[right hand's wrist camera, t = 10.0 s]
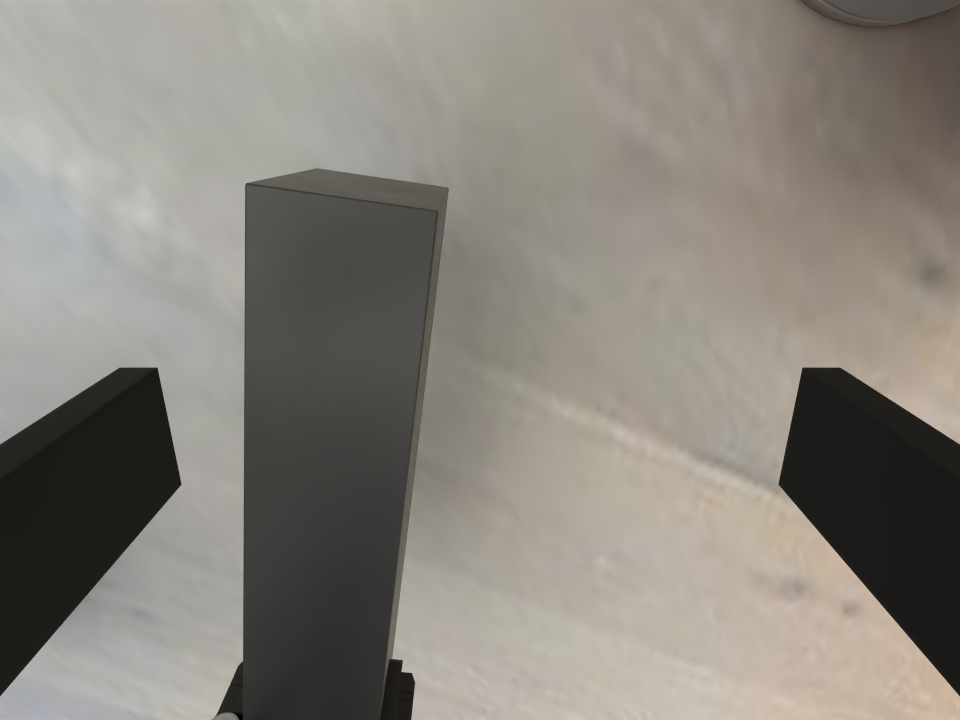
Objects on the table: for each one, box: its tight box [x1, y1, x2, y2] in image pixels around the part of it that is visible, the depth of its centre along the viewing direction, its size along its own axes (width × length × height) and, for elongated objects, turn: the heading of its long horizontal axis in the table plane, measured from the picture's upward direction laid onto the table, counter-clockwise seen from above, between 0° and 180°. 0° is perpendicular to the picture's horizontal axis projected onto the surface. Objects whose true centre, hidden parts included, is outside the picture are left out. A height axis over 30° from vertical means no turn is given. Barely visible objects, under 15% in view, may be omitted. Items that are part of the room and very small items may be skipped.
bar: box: [243, 169, 449, 720], centre depth 25 cm, size 27×6×8 cm, turn 172°
